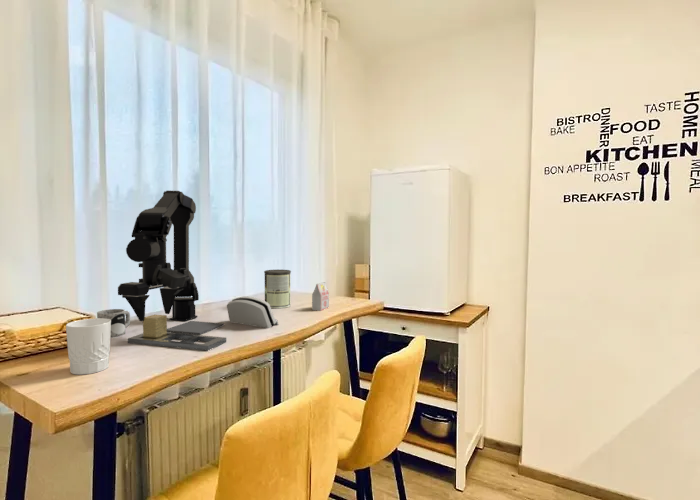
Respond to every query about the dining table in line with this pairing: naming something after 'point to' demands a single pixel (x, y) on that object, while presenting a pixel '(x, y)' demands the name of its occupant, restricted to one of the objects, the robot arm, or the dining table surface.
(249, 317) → the grey rounded two-tone device
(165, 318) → the mustard yellow block
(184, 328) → the rubber pad
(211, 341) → the grey slotted frame
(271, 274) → the coffee can
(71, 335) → the white cup
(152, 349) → the dining table surface
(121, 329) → the mug
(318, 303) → the milk carton
